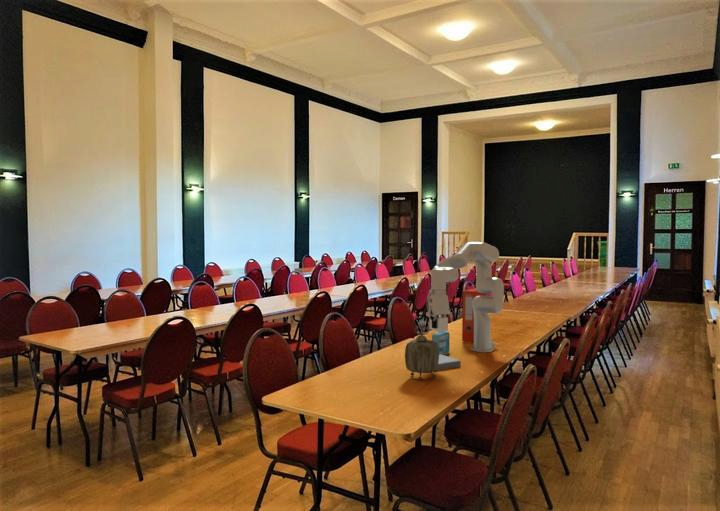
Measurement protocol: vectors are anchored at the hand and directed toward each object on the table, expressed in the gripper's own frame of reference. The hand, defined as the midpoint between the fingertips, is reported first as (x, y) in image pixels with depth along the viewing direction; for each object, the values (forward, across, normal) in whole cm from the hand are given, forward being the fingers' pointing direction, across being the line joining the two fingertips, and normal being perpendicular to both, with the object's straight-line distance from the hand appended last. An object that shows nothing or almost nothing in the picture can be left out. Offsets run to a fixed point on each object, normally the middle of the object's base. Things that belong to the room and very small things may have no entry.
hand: (438, 327), depth 270 cm
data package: (+20, +16, +19) cm, 32 cm away
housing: (+2, 0, 0) cm, 2 cm away
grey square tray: (+20, 0, 0) cm, 20 cm away
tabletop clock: (+20, -22, -16) cm, 34 cm away
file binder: (+20, +56, +37) cm, 70 cm away
